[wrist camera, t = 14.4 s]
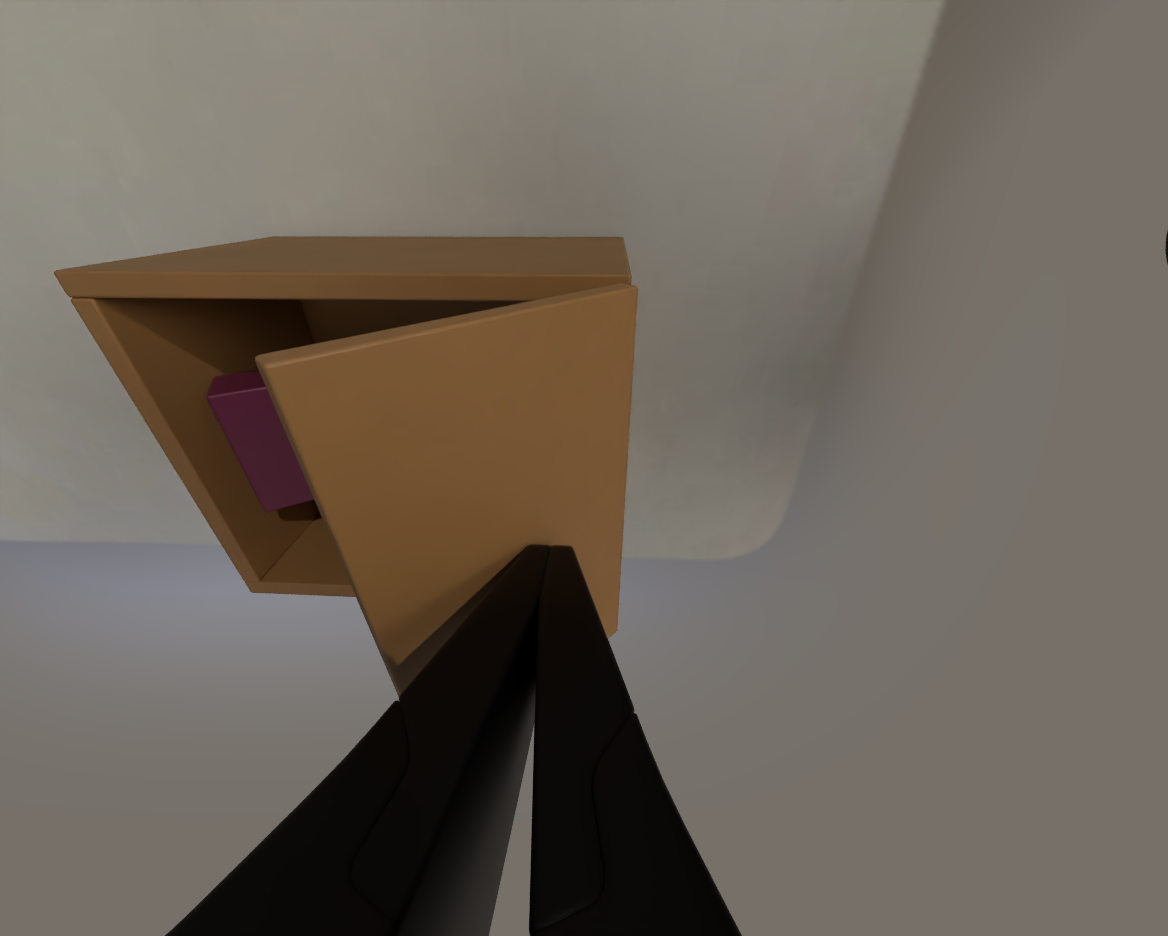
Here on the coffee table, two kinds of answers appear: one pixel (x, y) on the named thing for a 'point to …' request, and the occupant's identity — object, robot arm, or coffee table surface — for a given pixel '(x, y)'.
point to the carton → (288, 320)
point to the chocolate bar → (258, 439)
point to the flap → (465, 455)
